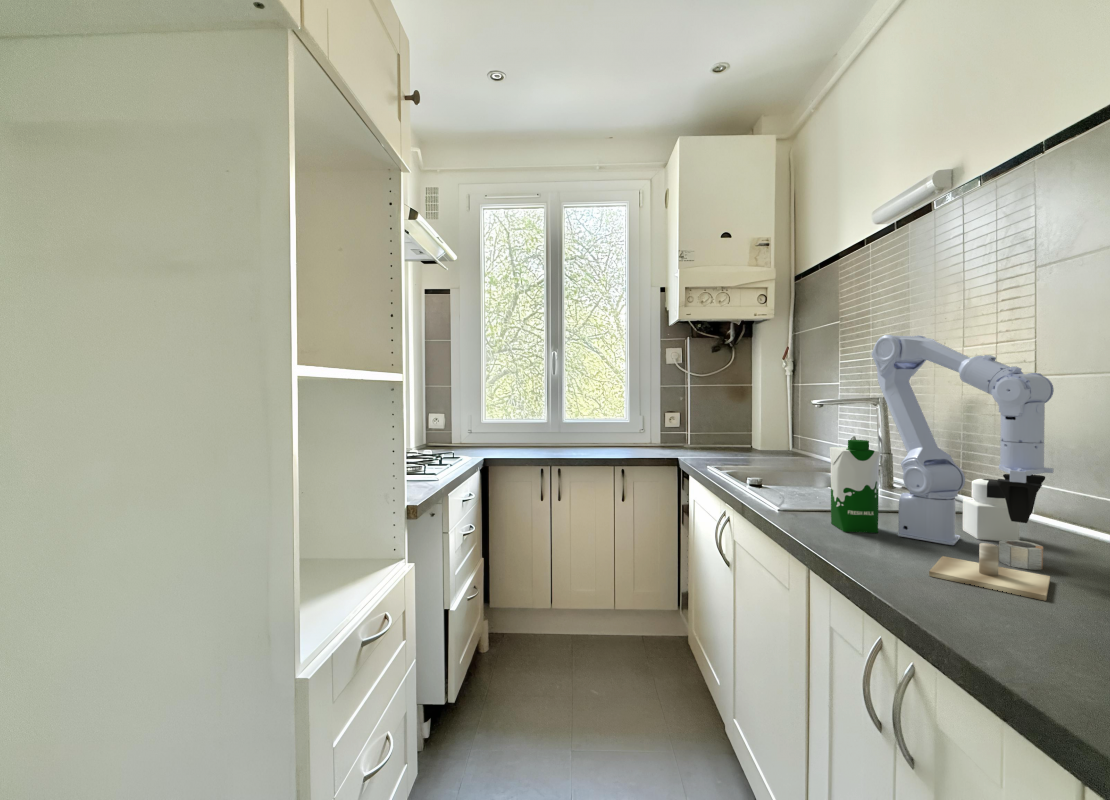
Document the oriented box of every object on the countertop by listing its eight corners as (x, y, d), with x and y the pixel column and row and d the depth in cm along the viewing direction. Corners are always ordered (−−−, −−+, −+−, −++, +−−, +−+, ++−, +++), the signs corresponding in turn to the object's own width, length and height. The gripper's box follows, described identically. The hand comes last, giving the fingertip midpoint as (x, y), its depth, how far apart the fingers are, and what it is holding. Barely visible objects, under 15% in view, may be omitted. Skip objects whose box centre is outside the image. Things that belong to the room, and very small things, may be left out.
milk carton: (841, 533, 109) (841, 441, 109) (825, 522, 118) (825, 437, 118) (884, 534, 108) (885, 441, 108) (865, 523, 117) (865, 437, 117)
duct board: (929, 575, 84) (929, 543, 84) (942, 560, 92) (942, 530, 91) (1046, 601, 74) (1046, 563, 74) (1050, 581, 81) (1050, 547, 81)
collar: (997, 563, 89) (998, 544, 89) (1001, 556, 93) (1001, 537, 93) (1041, 571, 85) (1041, 551, 85) (1043, 563, 89) (1043, 544, 89)
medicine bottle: (1002, 533, 108) (1002, 477, 108) (1020, 542, 102) (1020, 483, 101) (961, 530, 111) (962, 476, 110) (977, 539, 104) (977, 482, 104)
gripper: (1051, 446, 81) (1050, 530, 81) (1055, 440, 91) (1054, 514, 91) (993, 443, 86) (993, 522, 86) (1003, 437, 96) (1003, 508, 96)
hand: (1021, 518), depth 89 cm, fingers open, 7 cm apart
